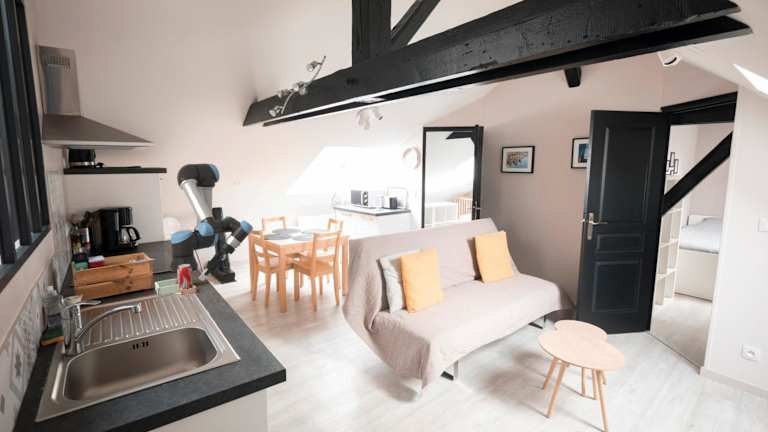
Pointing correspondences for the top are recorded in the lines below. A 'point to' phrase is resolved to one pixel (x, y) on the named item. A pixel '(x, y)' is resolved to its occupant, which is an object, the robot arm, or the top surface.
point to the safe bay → (166, 287)
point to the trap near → (188, 290)
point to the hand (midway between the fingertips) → (200, 279)
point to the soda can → (185, 276)
